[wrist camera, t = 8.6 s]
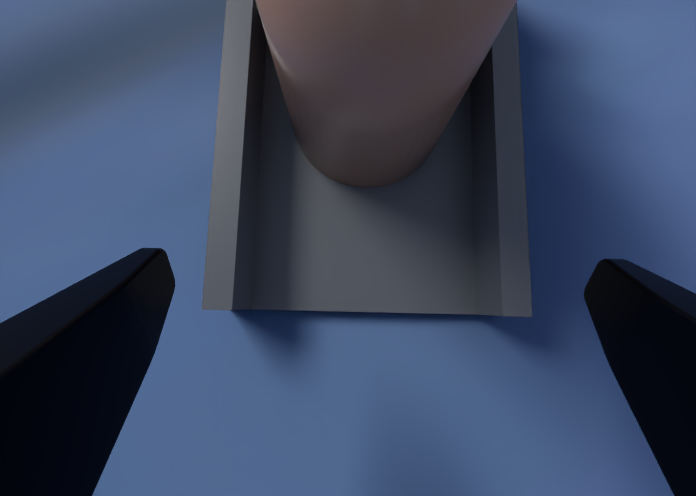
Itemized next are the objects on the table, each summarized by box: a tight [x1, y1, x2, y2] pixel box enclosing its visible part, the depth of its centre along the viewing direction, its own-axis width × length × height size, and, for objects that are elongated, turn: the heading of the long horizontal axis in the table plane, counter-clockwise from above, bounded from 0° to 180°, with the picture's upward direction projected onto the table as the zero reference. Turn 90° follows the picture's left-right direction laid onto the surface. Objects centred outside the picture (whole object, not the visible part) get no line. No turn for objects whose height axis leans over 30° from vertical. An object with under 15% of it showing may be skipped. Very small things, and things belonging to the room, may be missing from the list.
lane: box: [202, 0, 532, 317], centre depth 13 cm, size 15×11×6 cm
